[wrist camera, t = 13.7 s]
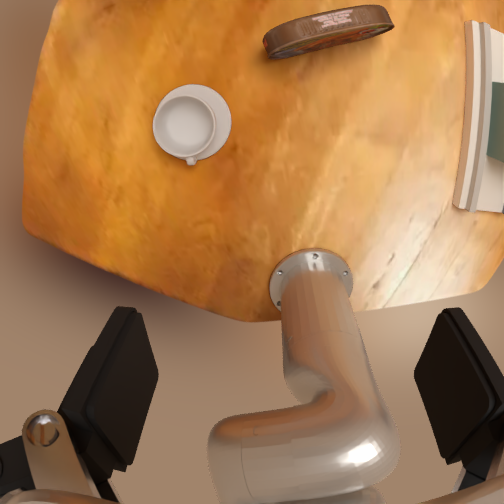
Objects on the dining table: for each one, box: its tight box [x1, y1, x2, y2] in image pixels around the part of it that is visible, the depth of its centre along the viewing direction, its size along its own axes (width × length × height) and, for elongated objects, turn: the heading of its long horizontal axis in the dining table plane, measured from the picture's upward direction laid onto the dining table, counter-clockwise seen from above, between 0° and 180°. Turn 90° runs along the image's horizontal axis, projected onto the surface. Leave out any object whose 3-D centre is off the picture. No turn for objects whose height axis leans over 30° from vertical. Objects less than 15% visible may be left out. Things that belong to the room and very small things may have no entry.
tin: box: [263, 5, 394, 59], centre depth 28 cm, size 15×3×8 cm, turn 110°
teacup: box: [153, 84, 231, 165], centre depth 36 cm, size 10×10×5 cm
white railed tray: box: [452, 20, 504, 214], centre depth 32 cm, size 28×12×3 cm, turn 1°
